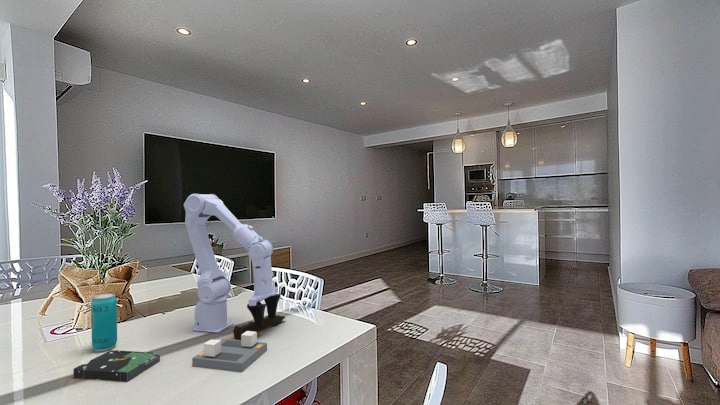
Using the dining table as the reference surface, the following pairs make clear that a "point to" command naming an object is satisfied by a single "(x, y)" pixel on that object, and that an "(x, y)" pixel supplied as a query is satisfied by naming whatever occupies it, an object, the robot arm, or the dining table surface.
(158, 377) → the dining table surface
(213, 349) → the white cube
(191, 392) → the dining table surface
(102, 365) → the disk drive
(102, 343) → the beverage can
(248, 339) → the switch tab
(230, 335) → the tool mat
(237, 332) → the dark brown log
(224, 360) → the grey flat block
